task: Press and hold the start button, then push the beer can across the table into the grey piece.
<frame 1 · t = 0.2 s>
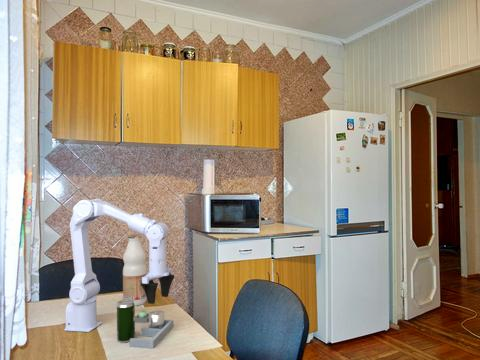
hand: (158, 299, 123), 10 cm above the table, tool pointing down, fingers open, 7 cm apart
button housing: (143, 320, 132), on the table
start button: (143, 315, 132), point 2 cm above the table, slide at 0.0 cm
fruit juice: (135, 303, 152), on the table
grey piece: (147, 341, 114), on the table
beer can: (126, 340, 115), on the table
metal billet: (156, 331, 122), resting in grey piece
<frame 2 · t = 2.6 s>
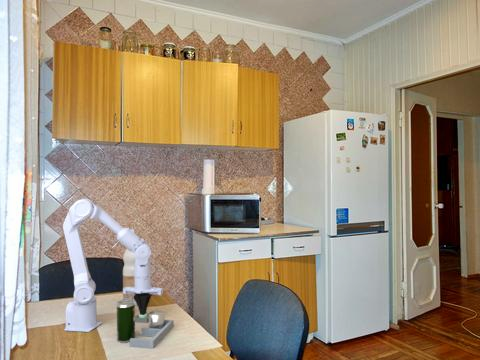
hand: (143, 314, 132), 2 cm above the table, tool pointing down, fingers closed, pressing on start button
start button: (143, 316, 132), point 1 cm above the table, slide at 0.5 cm, touching gripper
everything else where it was.
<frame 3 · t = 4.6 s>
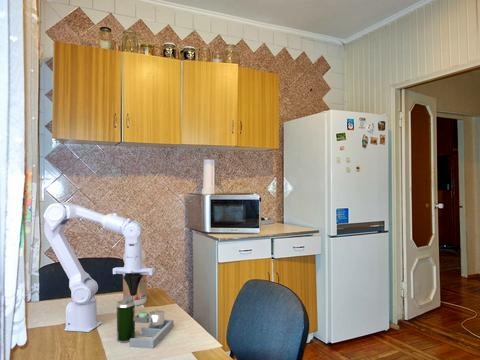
hand: (133, 294, 128), 10 cm above the table, tool pointing down, fingers closed
start button: (143, 316, 132), point 2 cm above the table, slide at 0.3 cm
everything else where it was.
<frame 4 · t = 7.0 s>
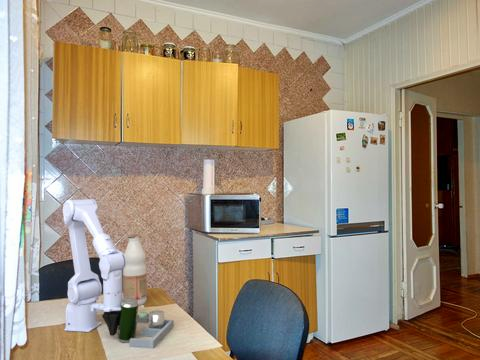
hand: (113, 334, 116), 1 cm above the table, tool pointing down, fingers closed
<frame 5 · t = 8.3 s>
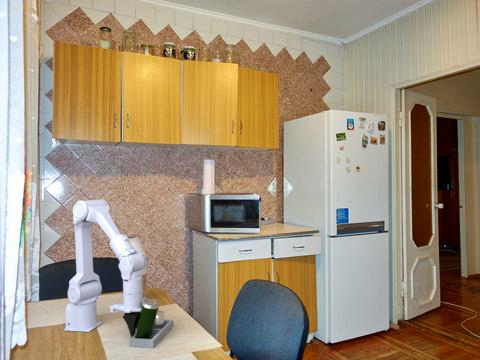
hand: (133, 335, 115), 1 cm above the table, tool pointing down, fingers closed, pressing on beer can
beer can: (141, 339, 115), point 1 cm above the table, touching gripper
everything else where it was.
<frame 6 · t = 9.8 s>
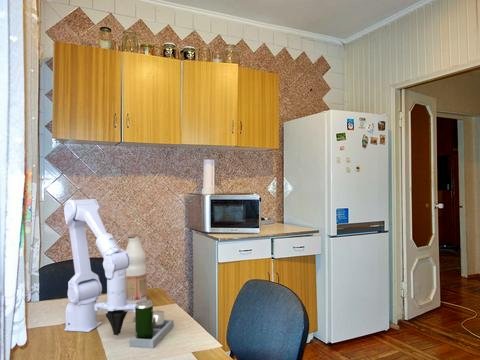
hand: (117, 333, 116), 2 cm above the table, tool pointing down, fingers closed
beer can: (144, 341, 114), resting in grey piece
everything else where it was.
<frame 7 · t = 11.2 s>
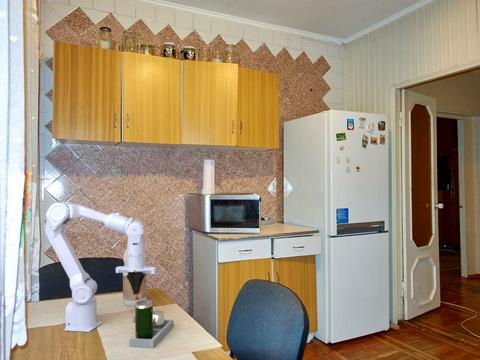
hand: (136, 293, 129), 10 cm above the table, tool pointing down, fingers closed
nothing on the table moved.
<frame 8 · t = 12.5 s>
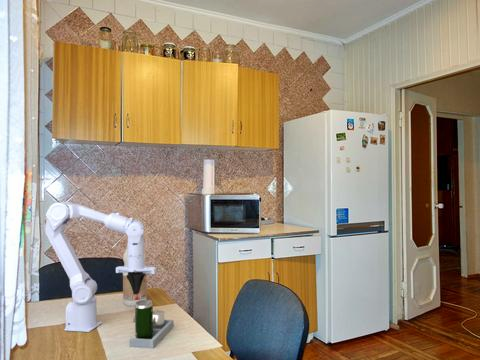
hand: (136, 293, 129), 10 cm above the table, tool pointing down, fingers closed
nothing on the table moved.
at the end: beer can 1.2 cm off-centre on the grey piece, point 0.0 cm above the grey piece's base; beer can tilted 0° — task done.
